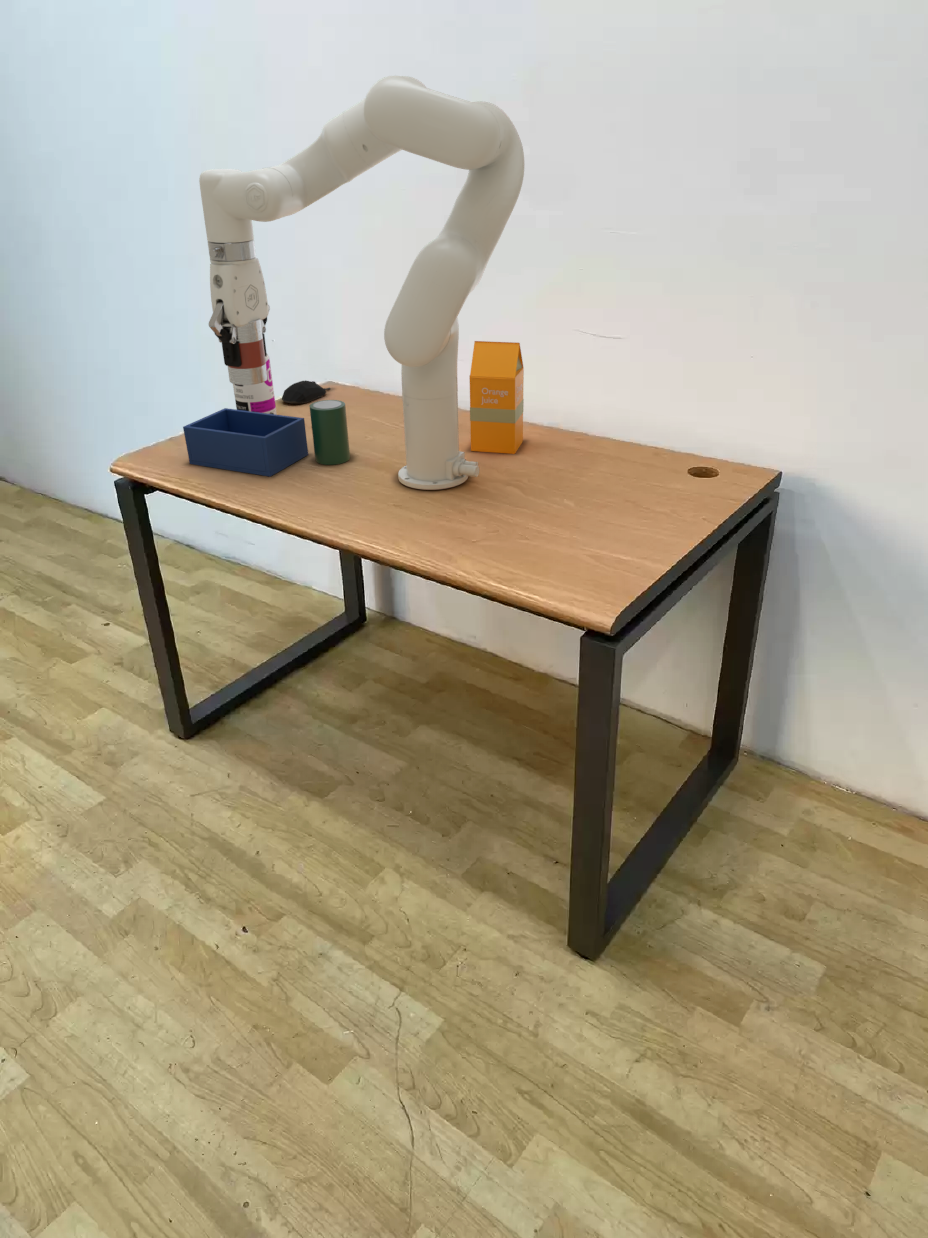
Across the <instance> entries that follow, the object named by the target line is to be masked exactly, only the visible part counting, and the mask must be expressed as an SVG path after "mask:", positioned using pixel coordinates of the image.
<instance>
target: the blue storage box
mask: <svg viewBox="0 0 928 1238" xmlns="http://www.w3.org/2000/svg"><path fill="white" fill-rule="evenodd" d="M182 429H183V434H184V440H185V446H186V451H187V456H188V463H189V465H194V466H200V467H206V468H213V469H220V470H227V471H233V472H239V473H245V474H251V475H258V476H263V477H269V478H270V477H272V476H274V475H276V474H278V473H279V472H281V471H283V470H285V469H286V468H288V467H290V466H291V465H293V464H295V463H296V462H298V461H300V460H303V459H304V458H306V457H307V456H309V449H308V448H309V447H308V440H307V431H306V423H305V418H304V417H297V416H291V415H283V414H277V415H275V414H267V413H259V412H251V411H244V410H237V408H236V409H234V408H228V407H224V408H222V409H219V410H218V411H215V412H213V413H211V414H208V415H206V416H204V417H202V418H200V419H197V420H195V421H193V422H191V423H188V424H186V425H184V426H182Z"/></svg>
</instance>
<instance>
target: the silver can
mask: <svg viewBox="0 0 928 1238" xmlns="http://www.w3.org/2000/svg"><path fill="white" fill-rule="evenodd" d="M225 323H230V322H229V321H227V322H225ZM230 330H231V328H226V331H227V332H228V333H229V334H230ZM236 343H239V348H240V355H241V363H242V364H241V366H240V367H234V366H227V371H228V372H227V373H228V378H229V383H230V384H232V385H233V384H237V385H253V384H259V383H262V382H265V381H266V380H267V370H266V360H265V352H264V343H263V336H262V327H261V319H257V320H254V321H251V322H248V324H247V325H245V326H242V327H237V338H236Z"/></svg>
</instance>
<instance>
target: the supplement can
mask: <svg viewBox="0 0 928 1238" xmlns="http://www.w3.org/2000/svg"><path fill="white" fill-rule="evenodd" d="M265 360H266V370H267V380H266V381H265V382H262V383H259V384H253V385H237V384H232V388H233V395H234V400H235V407H236V410H244V411H251V412H259V413H267V414H275V415H278V414H277V413H278V412H277V406H276V398H275V391H274V383H273V376H272V375H273V374H272V368H271V360H270V356H269V354H268V353H267V355H266V356H265Z"/></svg>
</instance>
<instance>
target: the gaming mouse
mask: <svg viewBox="0 0 928 1238" xmlns="http://www.w3.org/2000/svg"><path fill="white" fill-rule="evenodd" d="M329 390H331V387H327V388H326V387H324V388H323V387H322V386H321V385H319V384H318V383H316V381H315V380H313V381H312V380H311V381H309V380H306V379H305V380H301V381H298V382H295V383H293V384H291V385H289V386H288V387H287V388H286V389H285V390H284V391H283V394H282V396H281V400H282V401H283V402H284V403H287V404H290V405H291V404H292V405H303V404H307V403H310V402H313V401H314V400H317V399H319V398H321V397H324V396H325V394H326V393H327V391H329Z"/></svg>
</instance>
